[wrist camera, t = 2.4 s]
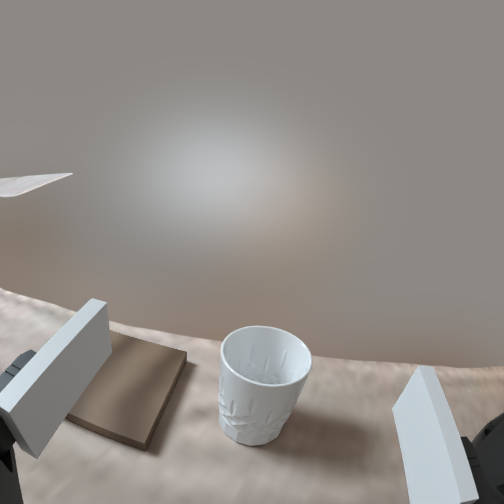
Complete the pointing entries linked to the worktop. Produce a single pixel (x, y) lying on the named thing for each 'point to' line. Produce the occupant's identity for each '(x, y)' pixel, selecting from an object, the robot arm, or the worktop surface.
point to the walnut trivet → (129, 390)
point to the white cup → (260, 382)
